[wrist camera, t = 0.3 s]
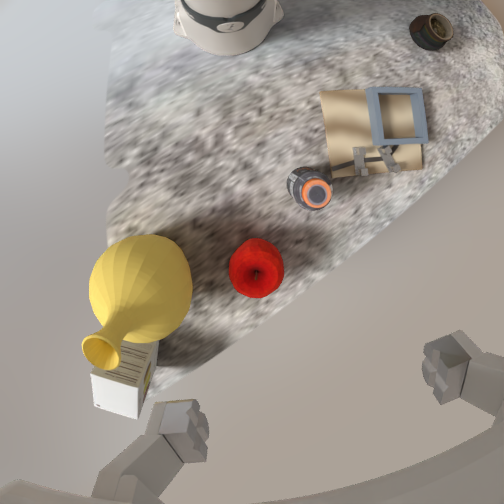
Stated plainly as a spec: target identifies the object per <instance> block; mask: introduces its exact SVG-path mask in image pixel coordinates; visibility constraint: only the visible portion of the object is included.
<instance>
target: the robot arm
mask: <svg viewBox="0 0 504 504" xmlns="http://www.w3.org/2000/svg"><path fill="white" fill-rule="evenodd" d="M175 6H176V8H175V17H174V26H173V30H174V33H175V34H176V35H178V36H180V37H183V38H187V39H189V40H191V41H192V42H193V43H194V44H195V45H197V46H198V47H199V48H201V49H202V50H204V51H206V52H208V53H211V54H215V55H221V56H232V55H238V54H242V53H245V52H247V51H250V50H251V49H253V48H255V47H256V46H258V45H259V44H260V43H261V42H262V41H263V40H264V39H265V37H266V36H267V34H268V32H269V30H270V29H271V27H272V26H273V25H275V24H276V23H278V22H279V21H280V20H281V19H282V18H283V16H284V12H283V10H282V8H281V6H280V4H279V1H278V0H175ZM179 23H180V25H179ZM424 354H425V355H426V358H425V359H424V360H423V363H422V371H423V377H424V379H425V381H426V383H427V384H428V385H429V386H431V387H434V391H433V394H434V396H435V397H436V399H437V400H438V402H439V403H440V405H442V404H445V403H447V402H450V401H452V400H454V399H457V398H459V397H460V398H461V399H463V400H465V401H466V402H468V403H470V404H472V405H474V406H476V407H478V408H480V409H482V410H483V411H485V412H487V413H489V414H491V415H493V416H495V417H496V419H495V420H494V423H493V425H492V427H491V428H489V429H488V430H486V431H484V432H482V433H481V434H479V435H477V436H475V437H473V438H471V439H469V440H467V441H466V442H463V443H461V444H460V445H458V446H455V447H453V448H451V449H449V450H447V451H445V452H443V453H441V454H438V455H436V456H434V457H432V458H429V459H427V460H424V461H422V462H420V463H417V464H415V465H412V466H410V467H407V468H404V469H401V470H399V471H396V472H393V473H390V474H387V475H385V476H381V477H378V478H375V479H372V480H368V481H365V482H362V483H358V484H355V485H351V486H348V487H344V488H340V489H336V490H331V491H327V492H323V493H318V494H314V495H309V496H303V497H297V498H291V499H286V500H278V501H271V502H262V503H253V504H504V357H502V356H498V355H495V354H492V353H488V352H486V353H483V352H482V351H481V350H480V349H479V348H478V347H477V346H476V344H474V342H473V341H472V340H471V339H470V338H469V337H468V336H467V335H466V334H465V333H464V332H463V331H462V330H458V331H456V332H453V333H451V334H449V335H446V336H444V337H441V338H439V339H436V340H434V341H431V342H429V343H426V344H425V346H424ZM199 409H200V405H199V403H198V401H197V400H196V399H189V400H176V401H165V402H156V403H155V404H154V405H153V408H152V411H151V414H150V418H149V421H148V424H147V428H146V431H145V435H141V436H139V437H138V438H137V439H136V440H135V441H134V442H133V443H132V444H130V445H129V446H128V447H127V448H126V449H125V450H124V451H123V452H122V453H120V454H119V455H118V456H117V457H116V458H115V459H114V460H112V461H111V462H110V463H109V464H108V465H106V466H105V467H104V468H103V469H102V470H101V471H100V472H99V475H98V477H97V481H96V484H95V486H94V489H93V492H92V495H91V497H87V496H82V495H77V494H72V493H68V492H63V491H59V490H55V489H51V488H47V487H44V486H40V485H37V484H34V483H30V482H27V481H24V480H14V481H12V482H10V483H8V484H7V485H5V486H3V487H2V488H0V504H164V503H163V502H162V501H161V500H160V499H159V498H158V497H159V496H160V495H161V494H162V492H163V491H164V490H165V488H166V487H167V486H168V485H169V483H170V482H171V481H172V480H173V478H174V477H175V476H176V474H177V473H178V472H179V470H180V469H181V468H182V466H183V465H184V464H183V463H196V462H206V459H207V449H208V447H207V445H206V444H205V441H206V440H207V439H208V438H209V426H208V422H207V418H206V416H205V414H204V413H202V412H200V411H199Z"/></svg>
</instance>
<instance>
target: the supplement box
mask: <svg viewBox="0 0 504 504" xmlns="http://www.w3.org/2000/svg"><path fill="white" fill-rule="evenodd" d="M158 346H159V340H157V341H154V342H151V343H133V342H129V341H125V340H122V342H121V363H120V365H119V367H117V368H116V369H113V370H104V369H101V368H98V367H96V366H94V368H93V369H92V371H91V373H90V375H91V381H92V390H93V400H94V406H95V407H98V408H101V409H104V410H107V411H110V412H113V413H117V414H120V415H124V416H126V417H130V418H133V419H138V418H139V415H140V412H141V409H142V406H143V403H144V400H145V397H146V395H147V392H148V389H149V386H150V383H151V380H152V378H153V375H154V372H155V369H156V365H157V356H158Z"/></svg>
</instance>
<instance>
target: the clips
mask: <svg viewBox="0 0 504 504" xmlns="http://www.w3.org/2000/svg"><path fill="white" fill-rule="evenodd" d="M352 150H353V158H354V167H355V175H360V176H368V168H365V163H364V155H366V147H352ZM377 150H378V152H379V154H380V156H381V157H382V159H383V162H384V164H385V166H386V167H387V169H388V171H389V173H390V172H394V173H397V172H399V171H400V170H401V168H400V166H399V164H398V163H395V162H394V160H393V158H392V156H391V154H390V153H391V152H392V150H391V148H390V146H388V145H382V146H381V147H379V148H377Z"/></svg>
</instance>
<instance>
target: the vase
mask: <svg viewBox="0 0 504 504" xmlns="http://www.w3.org/2000/svg"><path fill="white" fill-rule="evenodd" d="M192 292H193V285H192V278H191V272H190V267H189V264H188V261H187V259H186V257H185V255H184V253H183V251H182V250H181V248H180V247H179V246H178V245H177V244H176V243H175V242H174V241H172V240H170V239H168V238H167V237H163V236H158V235H153V234H149V235H138V236H131V237H128V238H126V239H124V240H122V241H119V242H117V243H115V244H113V245H112V246H110V247H109V248H108V249H107V250H106V251H105V252H104V254H102V256H101V257H100V258H99V259H98V260H97V262H96V264H95V266H94V269H93V271H92V274H91V277H90V281H89V298H90V302H91V305H92V308H93V312H94V313H95V315H96V317H97V318H98V320H99V321H100V323H101V324H102V325H103V326H104V327H103V328H102V329H101V330H100V331H98V332H96V333H94V334H91V335H89V336H87V337H86V338H85V339H84V340H83V342H82V350H83V353H84V355H85V357H86V358H87V359H88V361H90V362H91V363H92V364H93V365H94V366H96V367H98V368H101V369H104V370H113V369H116V368H117V367H119V365H120V363H121V342H122V340H125V341H129V342H133V343H151V342H154V341H157V340H160V339H163V338H165V337H167V336H168V335H169V334H170V333H172V332H173V331H174V330H176V329H177V328H178V327H179V326H180V324H181V323H182V321H183V319H184V318H185V316H186V314H187V313H188V311H189V308H190V303H191V297H192Z"/></svg>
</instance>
